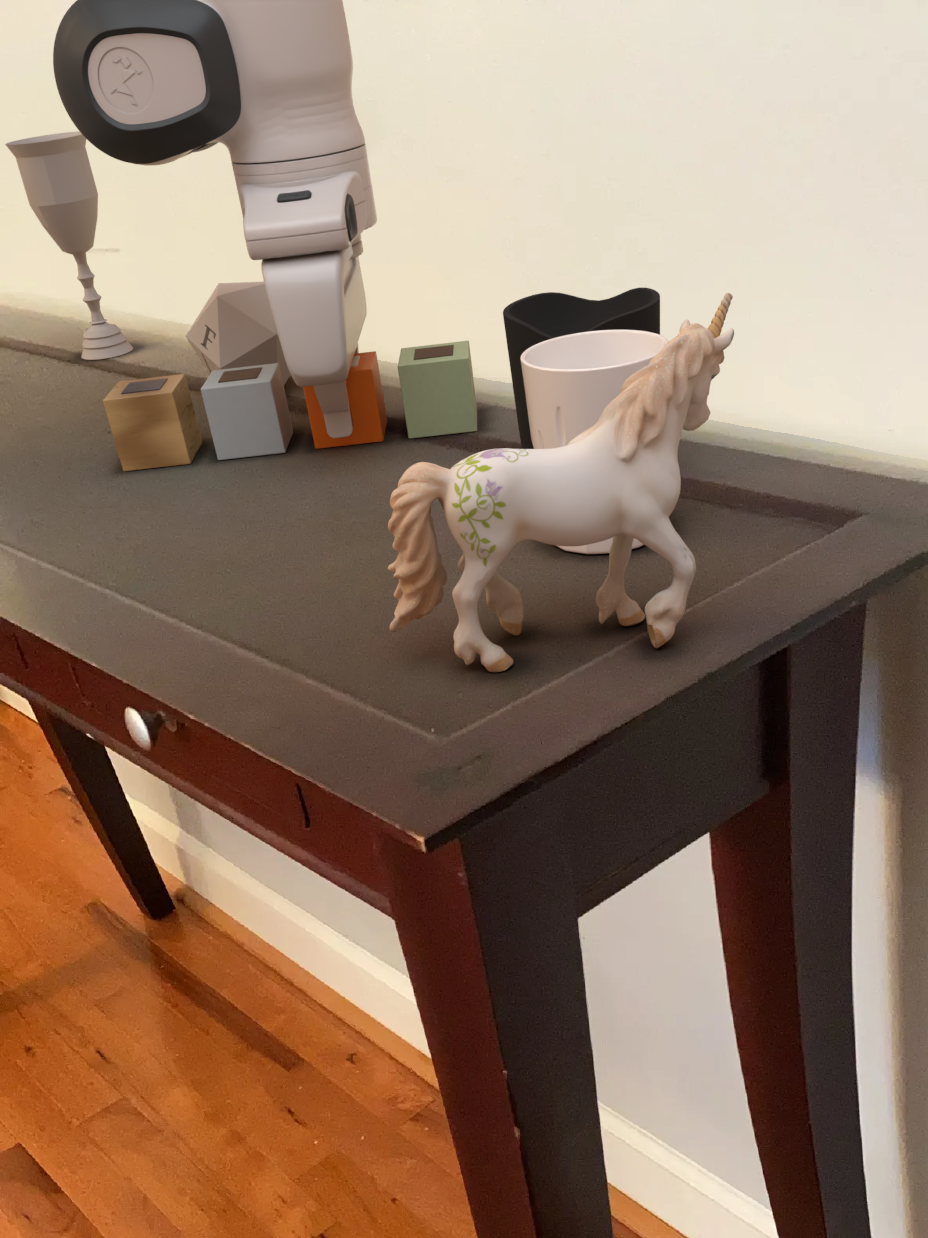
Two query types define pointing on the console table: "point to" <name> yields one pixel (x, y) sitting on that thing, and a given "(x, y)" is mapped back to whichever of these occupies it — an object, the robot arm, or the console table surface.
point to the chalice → (69, 219)
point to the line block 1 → (153, 422)
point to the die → (237, 329)
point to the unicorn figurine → (564, 502)
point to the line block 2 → (247, 411)
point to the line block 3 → (438, 389)
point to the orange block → (354, 405)
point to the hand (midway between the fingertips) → (346, 417)
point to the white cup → (581, 387)
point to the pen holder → (569, 328)
